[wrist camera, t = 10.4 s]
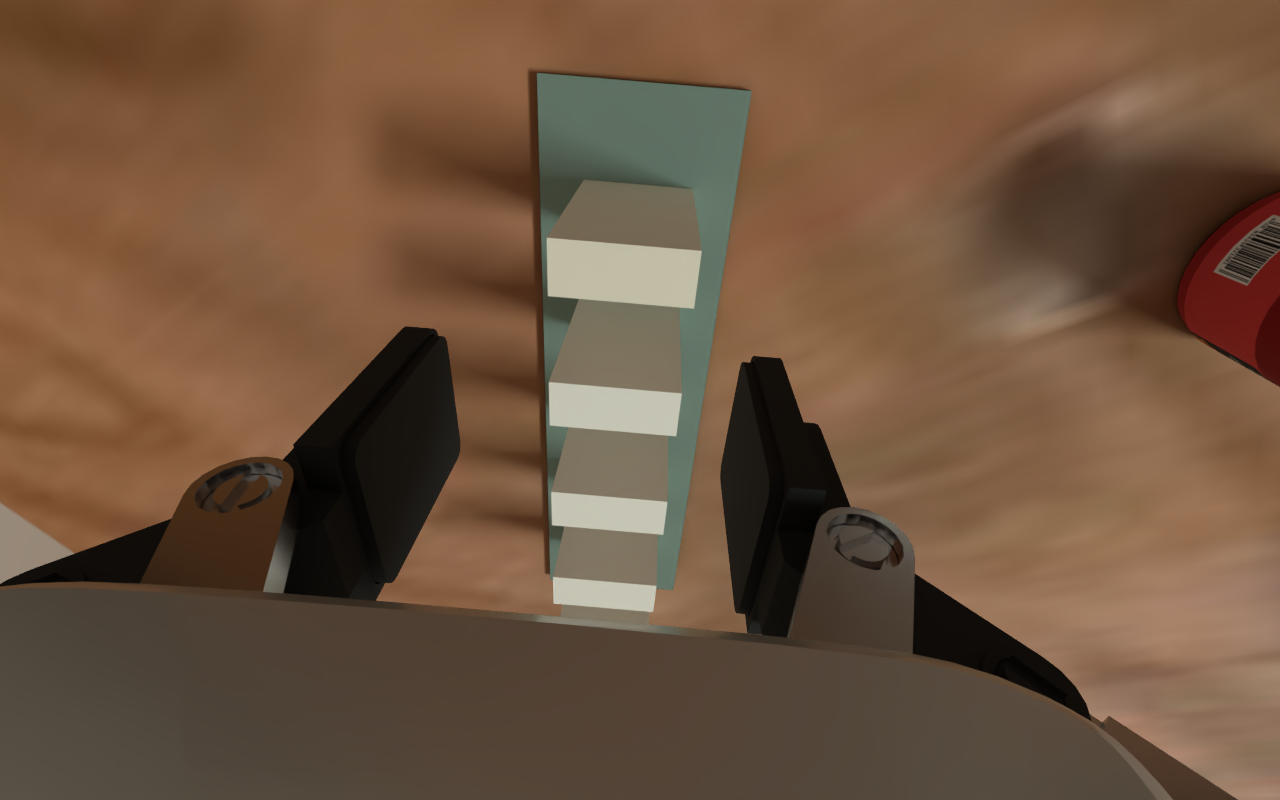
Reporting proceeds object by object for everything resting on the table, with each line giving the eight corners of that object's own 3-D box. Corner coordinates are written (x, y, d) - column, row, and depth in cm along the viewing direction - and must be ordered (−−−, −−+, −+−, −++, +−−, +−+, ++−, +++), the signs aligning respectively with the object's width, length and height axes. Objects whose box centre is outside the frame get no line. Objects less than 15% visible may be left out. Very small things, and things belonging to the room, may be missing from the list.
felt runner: (538, 72, 24) (537, 73, 23) (750, 90, 23) (751, 91, 23) (551, 575, 41) (550, 579, 41) (672, 585, 41) (672, 589, 41)
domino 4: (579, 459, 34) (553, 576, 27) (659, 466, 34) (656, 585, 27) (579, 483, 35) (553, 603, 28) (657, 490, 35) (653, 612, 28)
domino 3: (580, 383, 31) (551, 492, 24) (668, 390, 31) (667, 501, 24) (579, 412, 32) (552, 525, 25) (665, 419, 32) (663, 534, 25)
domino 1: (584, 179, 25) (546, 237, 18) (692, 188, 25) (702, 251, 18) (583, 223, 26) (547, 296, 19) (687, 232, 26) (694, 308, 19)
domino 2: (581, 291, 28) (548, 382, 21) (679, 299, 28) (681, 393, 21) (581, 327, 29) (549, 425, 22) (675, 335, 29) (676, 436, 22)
